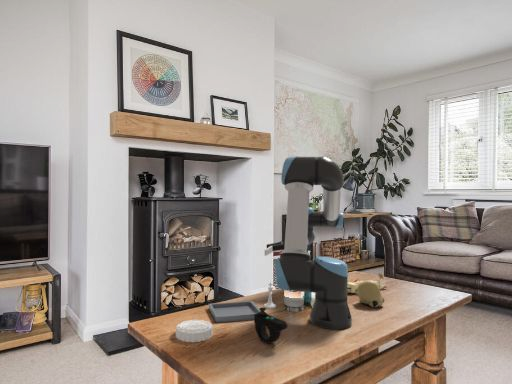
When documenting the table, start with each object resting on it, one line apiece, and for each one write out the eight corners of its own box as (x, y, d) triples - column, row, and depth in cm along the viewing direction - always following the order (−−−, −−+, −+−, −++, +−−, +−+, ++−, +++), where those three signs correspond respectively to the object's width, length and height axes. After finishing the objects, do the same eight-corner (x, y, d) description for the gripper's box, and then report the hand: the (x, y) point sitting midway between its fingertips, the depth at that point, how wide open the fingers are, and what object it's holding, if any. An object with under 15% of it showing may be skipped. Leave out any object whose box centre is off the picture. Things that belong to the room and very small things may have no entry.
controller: (260, 335, 121) (261, 305, 121) (288, 347, 112) (289, 314, 112) (251, 338, 118) (251, 307, 118) (279, 351, 109) (279, 317, 109)
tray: (263, 318, 137) (263, 313, 137) (216, 322, 132) (216, 317, 132) (251, 305, 152) (251, 300, 152) (208, 308, 147) (208, 303, 147)
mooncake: (205, 344, 113) (205, 333, 113) (169, 340, 116) (169, 329, 116) (217, 330, 125) (217, 320, 125) (184, 327, 127) (184, 316, 127)
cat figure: (374, 288, 190) (336, 289, 178) (375, 271, 190) (338, 271, 178) (389, 293, 181) (351, 295, 169) (391, 275, 181) (353, 276, 169)
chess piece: (277, 308, 150) (278, 283, 150) (266, 309, 148) (267, 284, 148) (273, 304, 154) (273, 280, 154) (262, 305, 153) (262, 281, 153)
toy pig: (363, 315, 154) (379, 303, 148) (348, 289, 160) (363, 277, 154) (377, 310, 160) (393, 298, 154) (362, 286, 166) (377, 273, 160)
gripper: (322, 254, 171) (306, 267, 152) (274, 247, 183) (254, 259, 164) (323, 238, 170) (306, 250, 151) (274, 232, 182) (254, 242, 163)
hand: (279, 254), depth 158 cm, fingers open, 13 cm apart
